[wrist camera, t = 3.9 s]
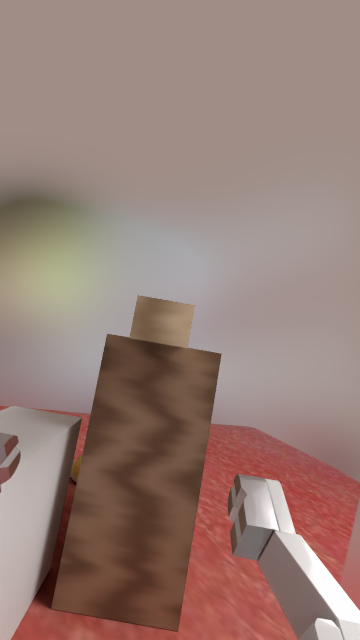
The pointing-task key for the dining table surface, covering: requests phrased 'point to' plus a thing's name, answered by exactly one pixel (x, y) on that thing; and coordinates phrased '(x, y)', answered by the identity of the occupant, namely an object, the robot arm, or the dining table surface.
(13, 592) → the grey step
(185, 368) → the walnut block
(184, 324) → the oak slat
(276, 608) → the dining table surface
